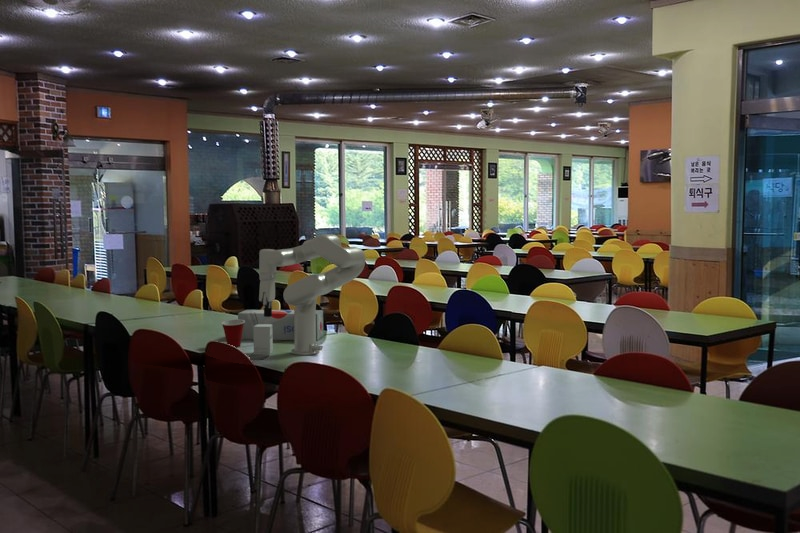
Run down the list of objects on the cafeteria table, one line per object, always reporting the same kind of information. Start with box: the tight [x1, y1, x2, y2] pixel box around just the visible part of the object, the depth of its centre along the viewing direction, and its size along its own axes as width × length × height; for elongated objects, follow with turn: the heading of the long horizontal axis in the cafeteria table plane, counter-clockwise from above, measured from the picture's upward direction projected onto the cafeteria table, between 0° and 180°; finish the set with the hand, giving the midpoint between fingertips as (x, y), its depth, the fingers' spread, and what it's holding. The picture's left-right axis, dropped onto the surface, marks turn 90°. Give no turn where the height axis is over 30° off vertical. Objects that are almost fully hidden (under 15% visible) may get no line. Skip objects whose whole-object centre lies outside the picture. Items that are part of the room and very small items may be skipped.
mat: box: [248, 353, 270, 361], centre depth 328 cm, size 9×8×1 cm
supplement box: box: [253, 324, 274, 356], centre depth 337 cm, size 7×7×13 cm
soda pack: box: [237, 309, 324, 341], centre depth 376 cm, size 41×13×14 cm, turn 82°
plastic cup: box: [220, 319, 245, 348], centre depth 353 cm, size 11×11×12 cm
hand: (267, 316), depth 345 cm, fingers closed
